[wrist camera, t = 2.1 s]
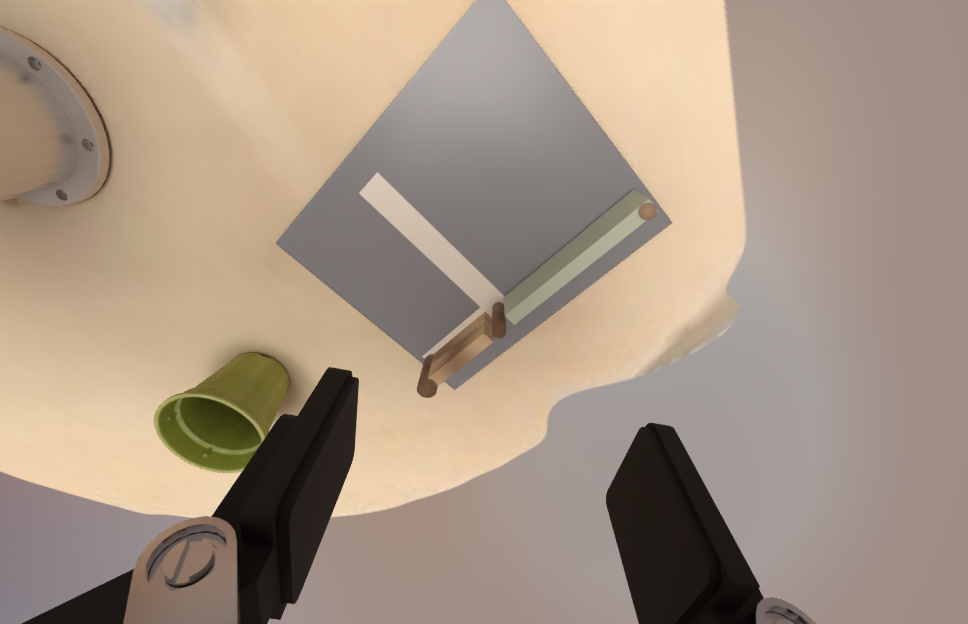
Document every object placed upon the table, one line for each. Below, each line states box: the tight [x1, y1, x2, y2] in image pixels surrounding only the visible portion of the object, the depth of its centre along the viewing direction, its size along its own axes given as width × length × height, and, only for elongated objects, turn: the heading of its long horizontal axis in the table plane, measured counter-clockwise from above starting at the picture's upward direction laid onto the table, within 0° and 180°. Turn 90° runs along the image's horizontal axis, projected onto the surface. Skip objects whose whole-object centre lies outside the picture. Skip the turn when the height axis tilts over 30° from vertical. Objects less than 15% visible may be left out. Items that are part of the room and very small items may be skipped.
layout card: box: [276, 0, 672, 390], centre depth 34 cm, size 26×22×1 cm
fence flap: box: [504, 189, 658, 325], centre depth 33 cm, size 14×1×4 cm, turn 134°
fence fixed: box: [417, 302, 506, 398], centre depth 37 cm, size 10×2×5 cm, turn 134°
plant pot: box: [154, 353, 289, 473], centre depth 39 cm, size 9×9×9 cm
